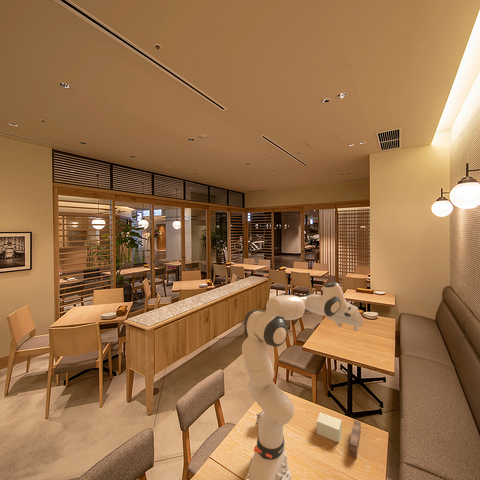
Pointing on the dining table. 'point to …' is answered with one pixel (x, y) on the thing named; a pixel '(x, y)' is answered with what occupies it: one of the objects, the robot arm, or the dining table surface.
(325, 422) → the cream rectangular block
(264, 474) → the robot arm
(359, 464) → the dining table surface
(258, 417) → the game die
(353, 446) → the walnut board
